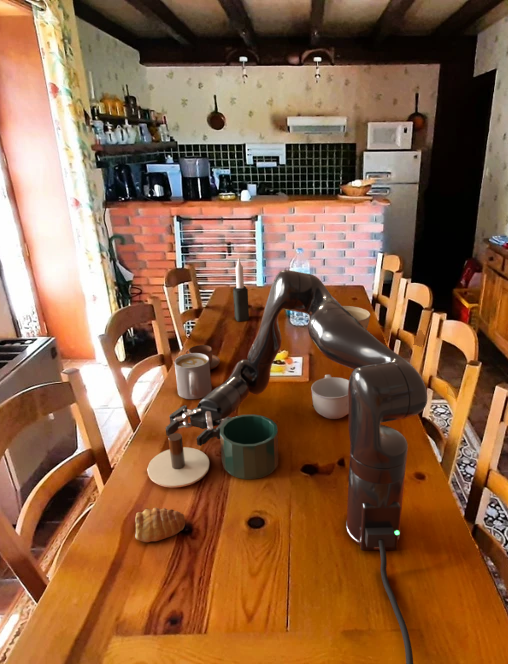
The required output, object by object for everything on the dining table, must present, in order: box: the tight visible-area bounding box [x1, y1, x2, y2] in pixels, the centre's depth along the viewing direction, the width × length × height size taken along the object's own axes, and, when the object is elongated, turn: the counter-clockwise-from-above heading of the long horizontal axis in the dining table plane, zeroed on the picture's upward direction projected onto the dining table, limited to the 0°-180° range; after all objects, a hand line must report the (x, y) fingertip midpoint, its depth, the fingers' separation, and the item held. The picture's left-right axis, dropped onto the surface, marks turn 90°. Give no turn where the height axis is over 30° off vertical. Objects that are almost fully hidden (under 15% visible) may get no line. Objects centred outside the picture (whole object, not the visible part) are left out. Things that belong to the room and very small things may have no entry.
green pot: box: [219, 413, 279, 480], centre depth 108 cm, size 13×13×8 cm
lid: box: [146, 432, 210, 488], centre depth 107 cm, size 14×14×9 cm
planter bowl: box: [341, 305, 371, 331], centre depth 167 cm, size 16×16×11 cm
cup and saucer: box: [185, 344, 221, 371], centre depth 156 cm, size 12×12×6 cm
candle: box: [232, 258, 250, 322], centre depth 192 cm, size 5×5×25 cm
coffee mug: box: [174, 352, 213, 400], centre depth 139 cm, size 13×10×10 cm
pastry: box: [134, 507, 186, 543], centre depth 91 cm, size 9×7×4 cm
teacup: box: [310, 374, 349, 420], centre depth 126 cm, size 14×11×8 cm
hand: (182, 437), depth 108 cm, fingers open, 8 cm apart
